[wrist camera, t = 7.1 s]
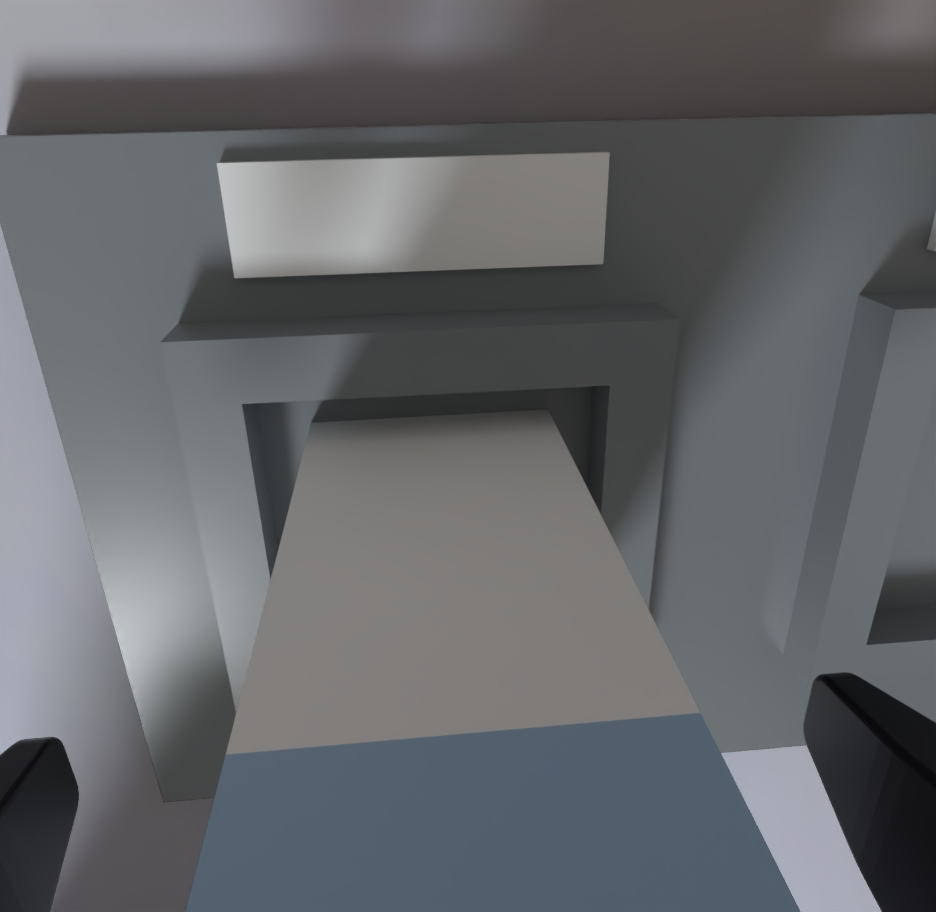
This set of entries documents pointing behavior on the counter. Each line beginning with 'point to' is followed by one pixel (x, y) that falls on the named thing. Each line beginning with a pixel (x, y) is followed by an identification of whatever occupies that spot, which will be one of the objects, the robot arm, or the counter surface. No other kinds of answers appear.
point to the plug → (467, 700)
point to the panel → (505, 373)
